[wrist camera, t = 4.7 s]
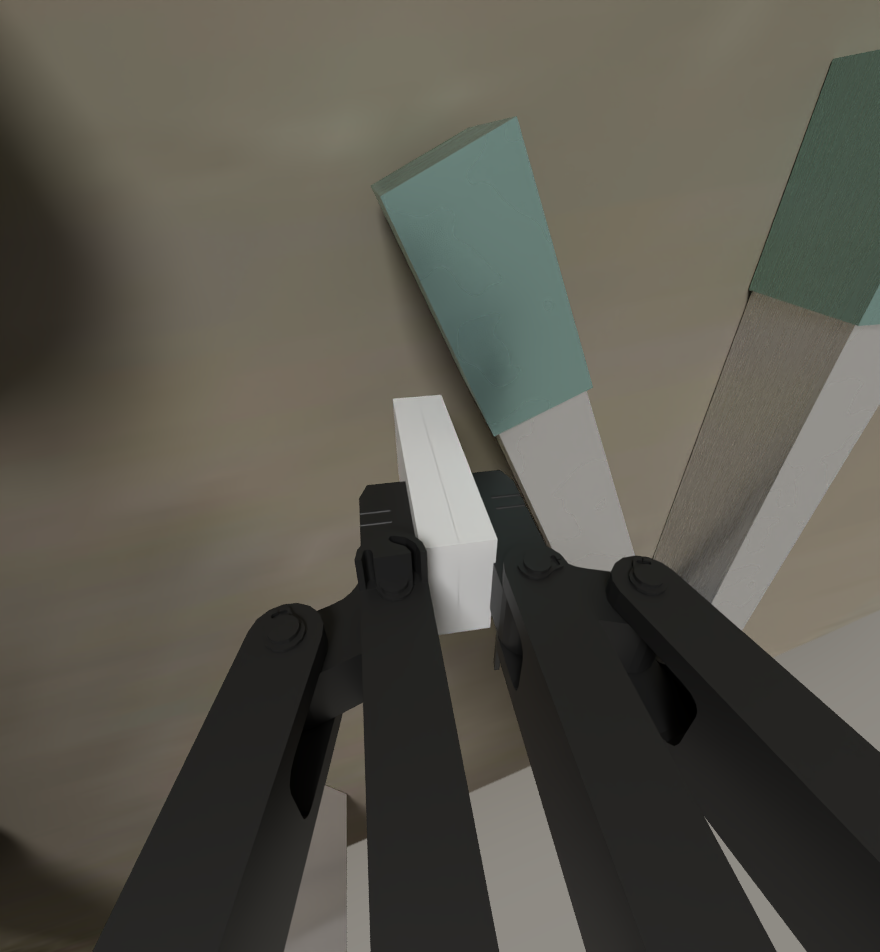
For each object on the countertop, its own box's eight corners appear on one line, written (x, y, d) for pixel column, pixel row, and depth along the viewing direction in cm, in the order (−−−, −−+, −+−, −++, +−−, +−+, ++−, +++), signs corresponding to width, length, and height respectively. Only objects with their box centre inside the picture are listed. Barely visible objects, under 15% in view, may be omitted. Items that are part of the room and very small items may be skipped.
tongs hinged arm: (585, 641, 26) (620, 713, 22) (363, 189, 12) (371, 202, 8) (638, 619, 25) (682, 688, 22) (475, 123, 11) (528, 109, 8)
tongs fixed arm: (550, 659, 27) (579, 730, 24) (688, 55, 12) (825, 15, 8) (664, 640, 28) (707, 706, 25) (930, 60, 13) (1140, 26, 9)
